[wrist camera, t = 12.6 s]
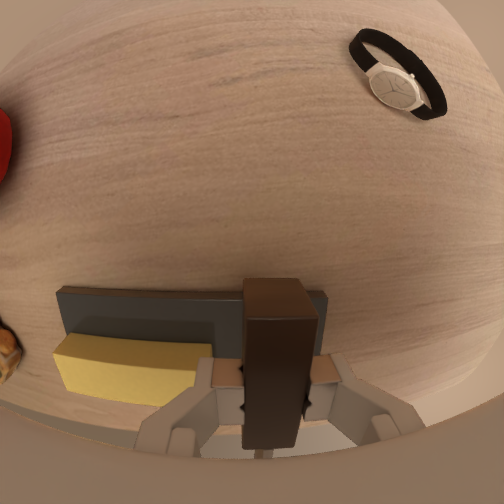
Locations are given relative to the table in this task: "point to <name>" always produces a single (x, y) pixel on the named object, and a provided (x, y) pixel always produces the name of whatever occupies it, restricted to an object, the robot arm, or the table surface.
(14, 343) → the ornament
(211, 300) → the butter dish
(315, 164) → the table surface
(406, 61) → the watch
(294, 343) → the dark brown boxy part
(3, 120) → the apple
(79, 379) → the butter block
